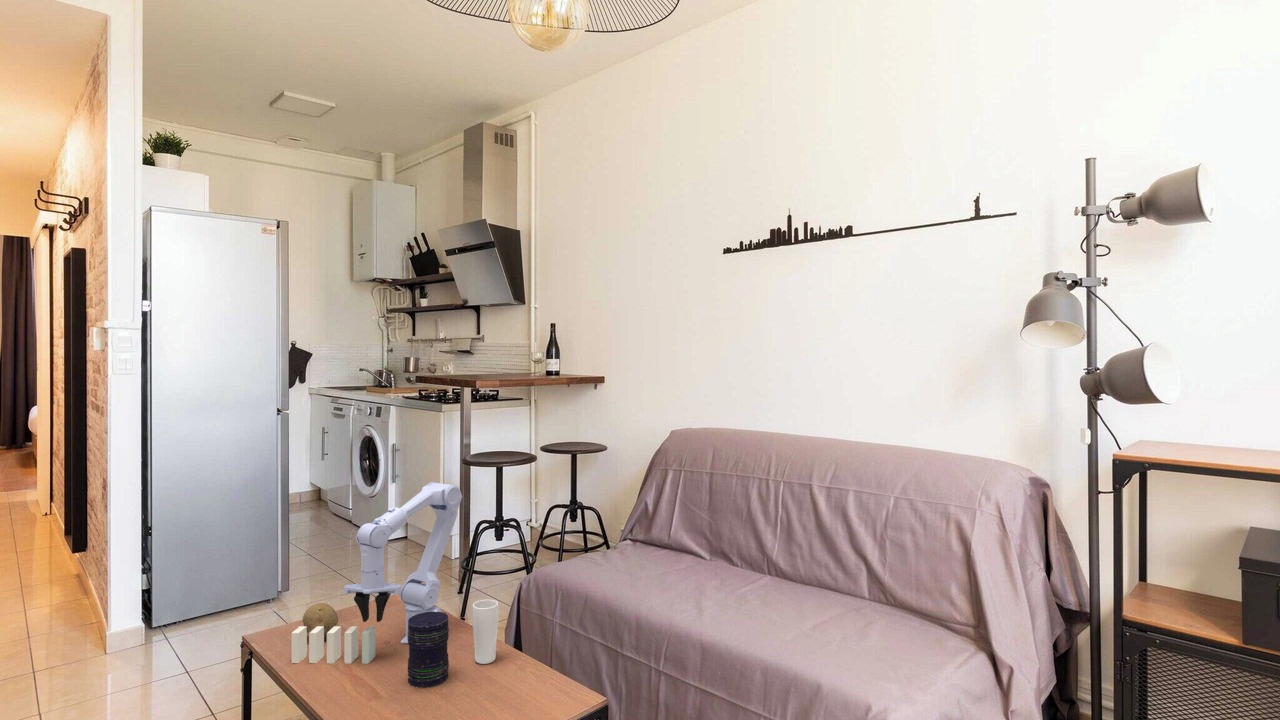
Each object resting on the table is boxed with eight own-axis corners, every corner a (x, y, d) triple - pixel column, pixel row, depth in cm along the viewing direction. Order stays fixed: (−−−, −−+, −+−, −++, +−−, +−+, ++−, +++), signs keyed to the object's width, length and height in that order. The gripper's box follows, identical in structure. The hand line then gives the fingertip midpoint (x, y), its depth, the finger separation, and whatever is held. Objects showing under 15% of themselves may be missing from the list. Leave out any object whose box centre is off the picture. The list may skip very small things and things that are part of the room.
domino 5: (375, 656, 181) (375, 626, 181) (368, 663, 176) (368, 633, 176) (368, 656, 181) (368, 626, 181) (361, 663, 176) (361, 633, 176)
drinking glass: (485, 668, 173) (485, 610, 173) (466, 662, 177) (466, 605, 177) (503, 658, 179) (503, 602, 179) (485, 652, 183) (485, 597, 183)
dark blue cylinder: (406, 673, 171) (406, 614, 171) (446, 666, 175) (446, 609, 174) (409, 691, 162) (409, 629, 161) (451, 683, 165) (451, 623, 165)
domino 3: (341, 656, 181) (341, 626, 181) (333, 663, 176) (333, 633, 176) (334, 656, 181) (334, 626, 181) (326, 663, 176) (326, 633, 176)
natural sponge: (330, 629, 198) (330, 595, 198) (343, 638, 192) (343, 603, 192) (298, 638, 192) (298, 603, 192) (309, 648, 185) (310, 611, 185)
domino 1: (306, 656, 181) (306, 626, 181) (298, 663, 176) (298, 633, 176) (299, 656, 181) (299, 626, 181) (291, 663, 176) (291, 633, 176)
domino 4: (358, 656, 181) (358, 626, 181) (351, 663, 176) (351, 633, 176) (351, 656, 181) (351, 626, 181) (344, 663, 176) (344, 633, 176)
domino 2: (323, 656, 181) (323, 626, 181) (316, 663, 176) (316, 633, 176) (317, 656, 181) (317, 626, 181) (309, 663, 176) (309, 633, 176)
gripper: (338, 574, 174) (338, 626, 174) (394, 574, 174) (394, 626, 174) (350, 565, 181) (350, 615, 182) (404, 565, 181) (404, 616, 181)
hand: (372, 620), depth 178 cm, fingers open, 3 cm apart
